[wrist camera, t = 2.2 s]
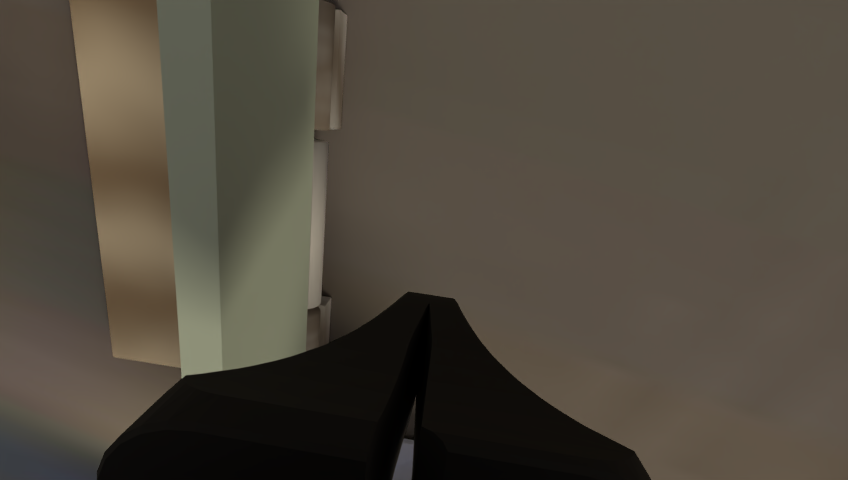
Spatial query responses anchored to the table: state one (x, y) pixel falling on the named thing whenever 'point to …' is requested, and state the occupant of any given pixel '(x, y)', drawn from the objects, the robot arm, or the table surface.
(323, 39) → the base leaf
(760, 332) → the table surface
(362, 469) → the robot arm
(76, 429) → the table surface
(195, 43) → the hinge leaf
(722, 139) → the table surface
